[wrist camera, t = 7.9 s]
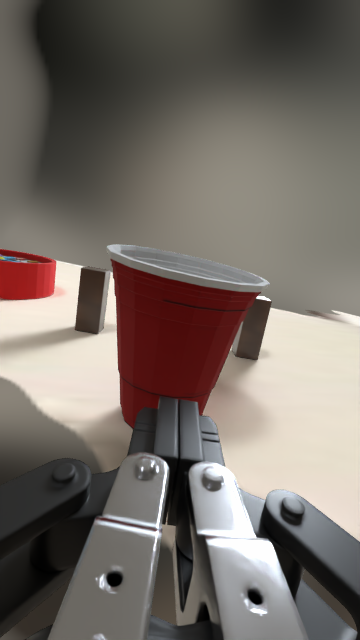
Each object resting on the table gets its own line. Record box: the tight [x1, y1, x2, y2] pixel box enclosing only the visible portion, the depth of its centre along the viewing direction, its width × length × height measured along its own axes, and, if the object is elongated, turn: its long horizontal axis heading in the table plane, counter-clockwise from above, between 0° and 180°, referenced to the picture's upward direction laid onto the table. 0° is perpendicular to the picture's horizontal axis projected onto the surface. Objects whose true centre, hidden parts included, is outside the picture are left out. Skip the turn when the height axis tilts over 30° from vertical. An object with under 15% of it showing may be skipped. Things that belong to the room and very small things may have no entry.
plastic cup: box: [106, 244, 270, 429], centre depth 22 cm, size 11×11×12 cm
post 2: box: [232, 296, 272, 360], centre depth 42 cm, size 3×3×8 cm
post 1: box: [75, 266, 110, 334], centre depth 40 cm, size 3×3×8 cm
